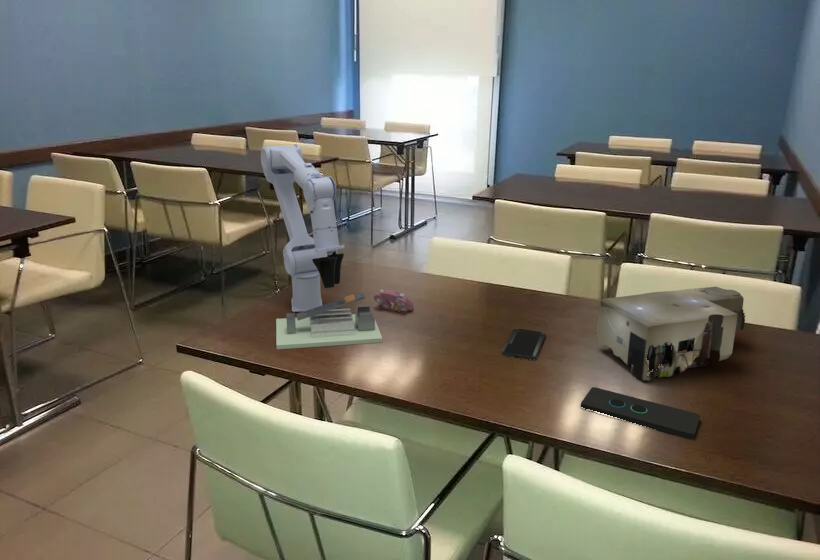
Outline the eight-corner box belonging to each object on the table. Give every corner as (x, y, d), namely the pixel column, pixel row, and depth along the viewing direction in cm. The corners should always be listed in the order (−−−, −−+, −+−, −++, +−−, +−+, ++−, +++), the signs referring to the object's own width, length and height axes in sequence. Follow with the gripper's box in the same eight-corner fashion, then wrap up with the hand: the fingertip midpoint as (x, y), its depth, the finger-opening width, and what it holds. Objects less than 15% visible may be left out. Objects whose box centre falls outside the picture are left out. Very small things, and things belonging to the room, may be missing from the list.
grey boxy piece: (770, 363, 140) (780, 305, 136) (643, 384, 131) (649, 323, 127) (709, 334, 157) (716, 282, 153) (593, 351, 147) (597, 295, 144)
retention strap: (297, 315, 153) (296, 312, 152) (363, 294, 154) (362, 291, 154) (297, 320, 150) (296, 317, 150) (365, 298, 151) (364, 295, 151)
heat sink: (309, 321, 157) (309, 309, 156) (350, 318, 159) (350, 307, 158) (311, 337, 148) (311, 325, 147) (354, 334, 150) (354, 322, 149)
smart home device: (592, 385, 127) (701, 413, 118) (591, 393, 128) (699, 421, 118) (579, 402, 121) (693, 434, 111) (579, 411, 121) (692, 442, 111)
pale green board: (276, 322, 159) (276, 318, 159) (372, 316, 164) (372, 313, 163) (276, 349, 144) (276, 345, 144) (382, 342, 149) (382, 338, 148)
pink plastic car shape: (375, 312, 171) (369, 293, 166) (383, 300, 174) (377, 282, 169) (408, 319, 166) (403, 300, 162) (416, 307, 169) (410, 288, 165)
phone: (546, 332, 153) (535, 358, 140) (546, 337, 154) (535, 362, 140) (513, 327, 156) (500, 352, 143) (513, 332, 156) (500, 356, 143)
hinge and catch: (286, 325, 155) (286, 309, 153) (371, 320, 159) (371, 304, 157) (287, 335, 149) (286, 319, 148) (374, 330, 153) (374, 313, 151)
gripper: (336, 227, 144) (344, 287, 145) (346, 226, 158) (353, 280, 160) (305, 231, 144) (313, 290, 146) (318, 229, 159) (325, 283, 160)
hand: (332, 285), depth 153 cm, fingers open, 7 cm apart
